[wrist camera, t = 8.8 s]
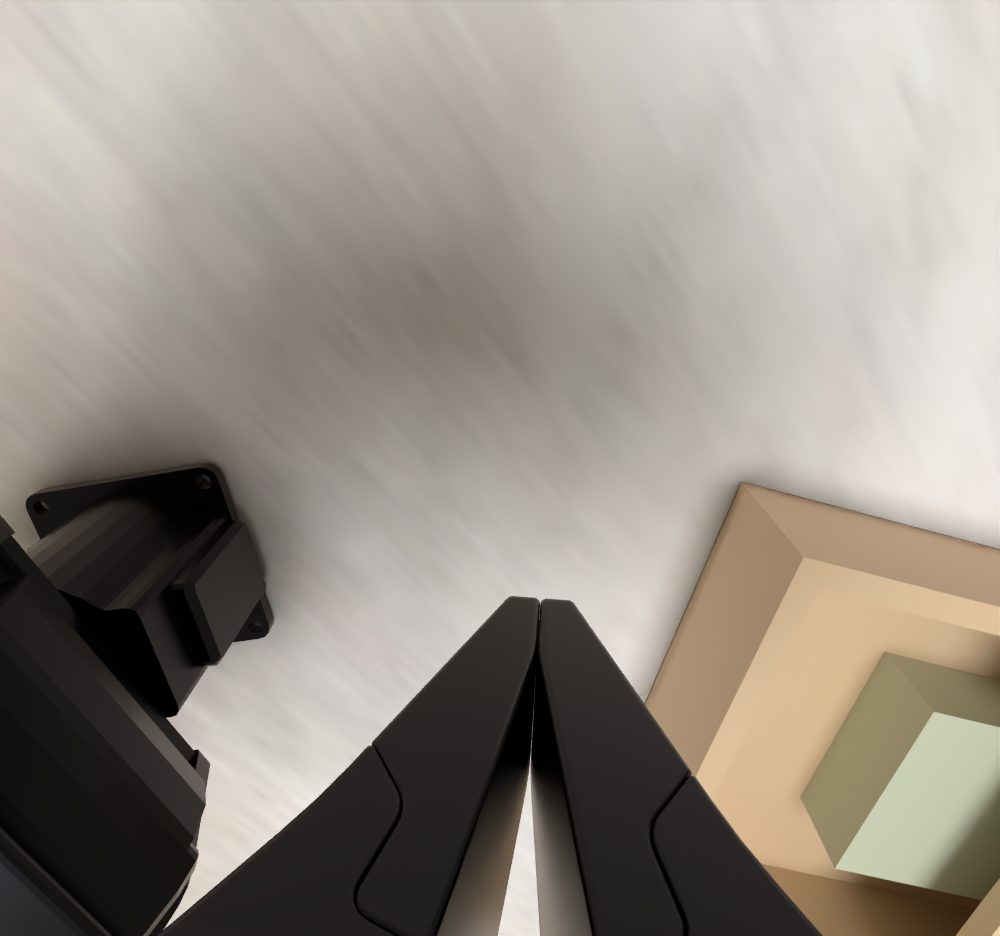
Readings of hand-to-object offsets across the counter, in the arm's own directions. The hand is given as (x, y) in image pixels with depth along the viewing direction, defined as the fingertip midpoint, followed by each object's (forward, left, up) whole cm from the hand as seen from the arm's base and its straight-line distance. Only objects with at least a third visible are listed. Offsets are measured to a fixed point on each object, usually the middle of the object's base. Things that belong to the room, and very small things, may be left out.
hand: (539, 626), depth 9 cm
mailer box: (+12, -16, -13) cm, 24 cm away
